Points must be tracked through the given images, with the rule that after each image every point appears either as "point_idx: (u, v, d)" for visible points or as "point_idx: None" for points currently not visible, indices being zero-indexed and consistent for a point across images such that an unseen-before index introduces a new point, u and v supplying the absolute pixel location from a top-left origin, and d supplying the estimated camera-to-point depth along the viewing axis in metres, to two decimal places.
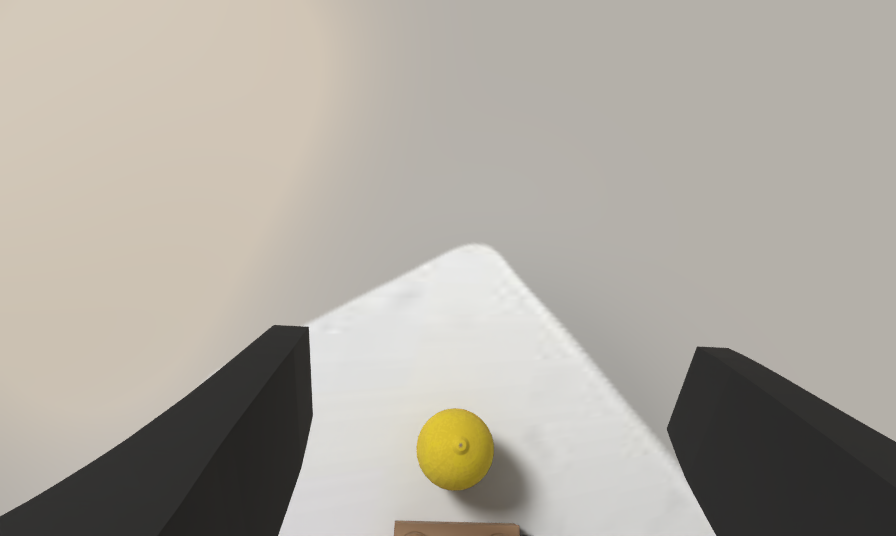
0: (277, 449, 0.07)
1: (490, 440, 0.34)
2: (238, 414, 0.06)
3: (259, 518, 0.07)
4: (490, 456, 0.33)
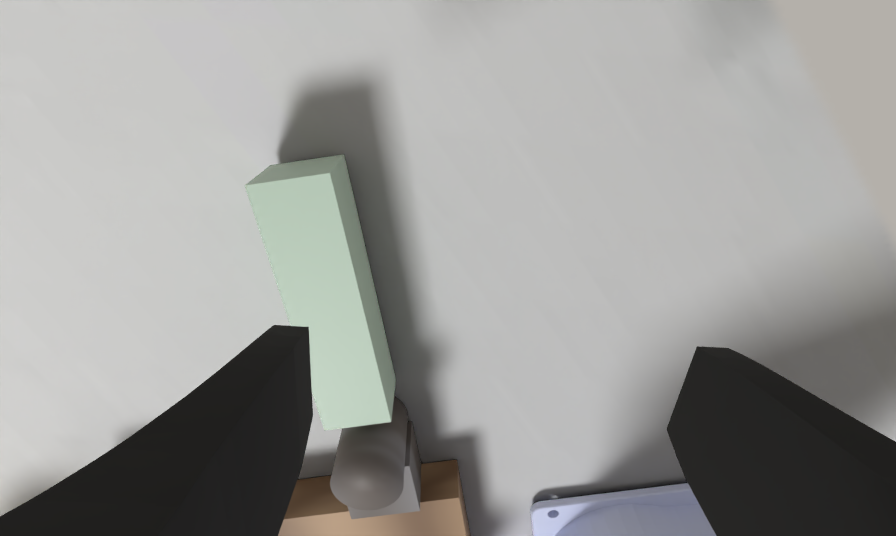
0: (277, 449, 0.07)
1: None
2: (238, 414, 0.06)
3: (259, 518, 0.07)
4: None
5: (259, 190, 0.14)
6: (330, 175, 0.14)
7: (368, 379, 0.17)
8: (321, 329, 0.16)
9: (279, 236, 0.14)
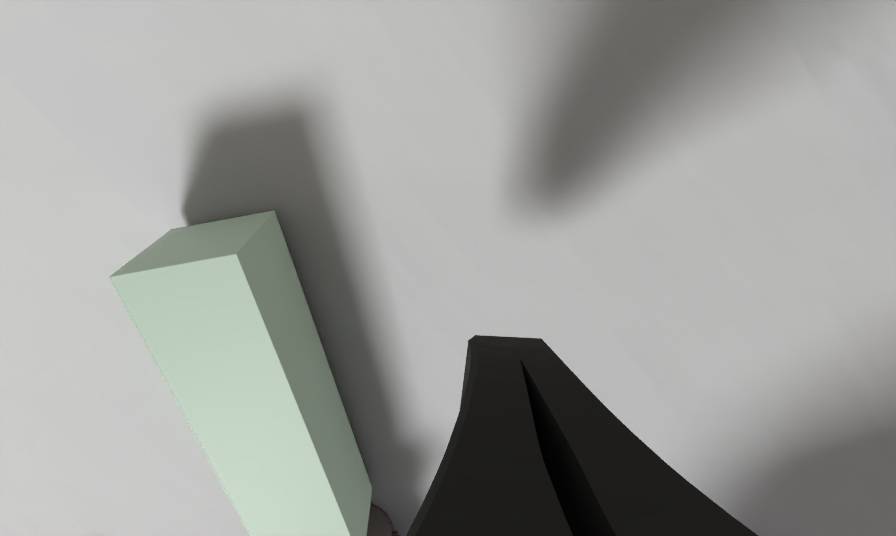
0: None
1: None
2: (528, 425, 0.06)
3: None
4: None
5: (132, 283, 0.09)
6: (237, 257, 0.09)
7: (325, 518, 0.12)
8: (252, 462, 0.11)
9: (173, 344, 0.10)
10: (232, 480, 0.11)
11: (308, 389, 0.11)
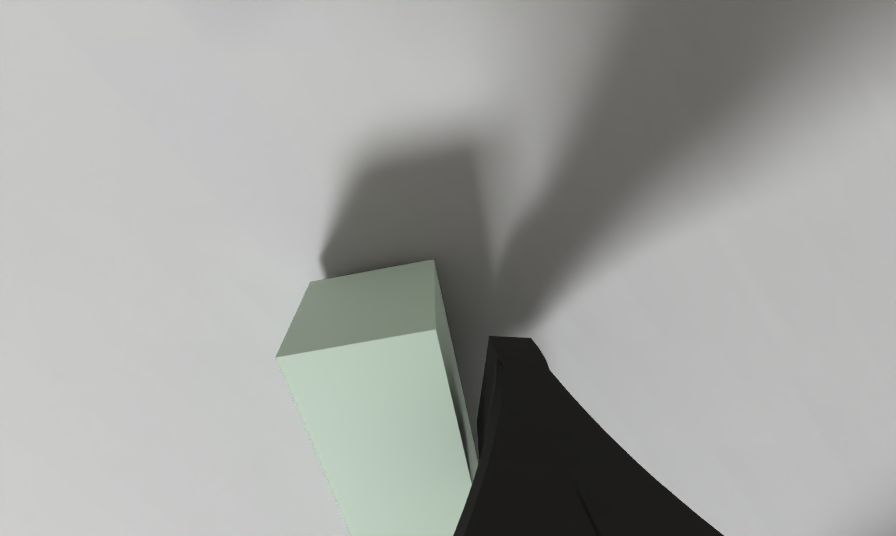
0: None
1: None
2: (561, 427, 0.06)
3: None
4: None
5: (303, 364, 0.07)
6: (436, 332, 0.07)
7: None
8: None
9: (339, 432, 0.08)
10: None
11: (472, 469, 0.09)
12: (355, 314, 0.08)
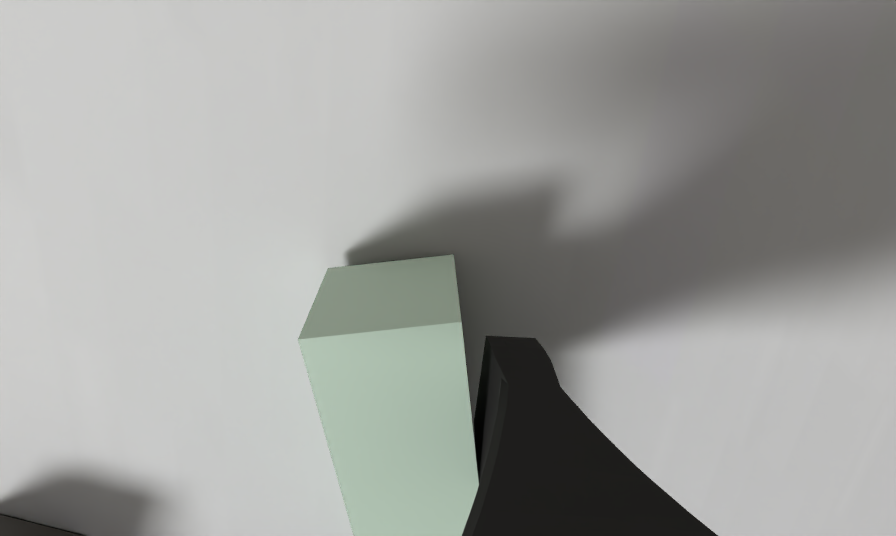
0: None
1: None
2: (567, 427, 0.06)
3: None
4: None
5: (325, 348, 0.07)
6: (461, 325, 0.07)
7: None
8: None
9: (353, 419, 0.08)
10: None
11: None
12: (377, 302, 0.08)
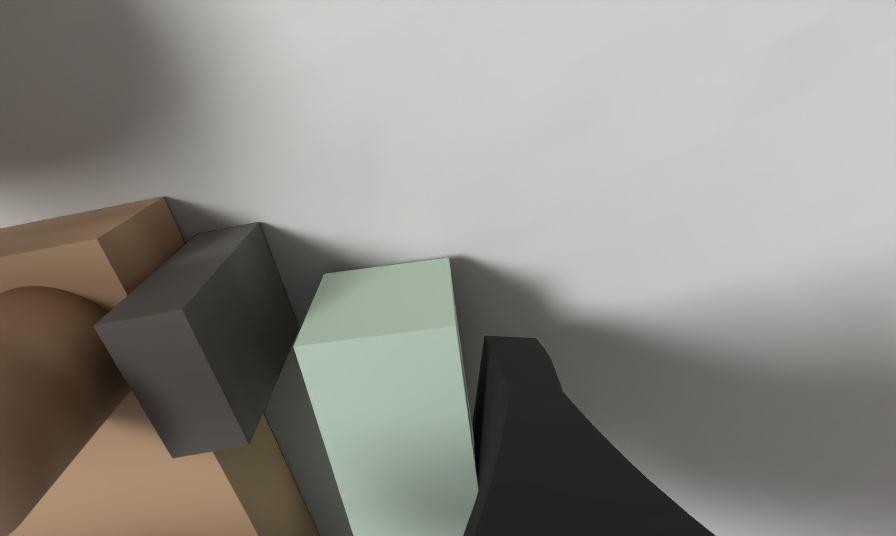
0: None
1: None
2: (568, 427, 0.06)
3: None
4: None
5: (320, 354, 0.07)
6: (455, 329, 0.07)
7: None
8: None
9: (351, 424, 0.08)
10: None
11: None
12: (372, 307, 0.08)
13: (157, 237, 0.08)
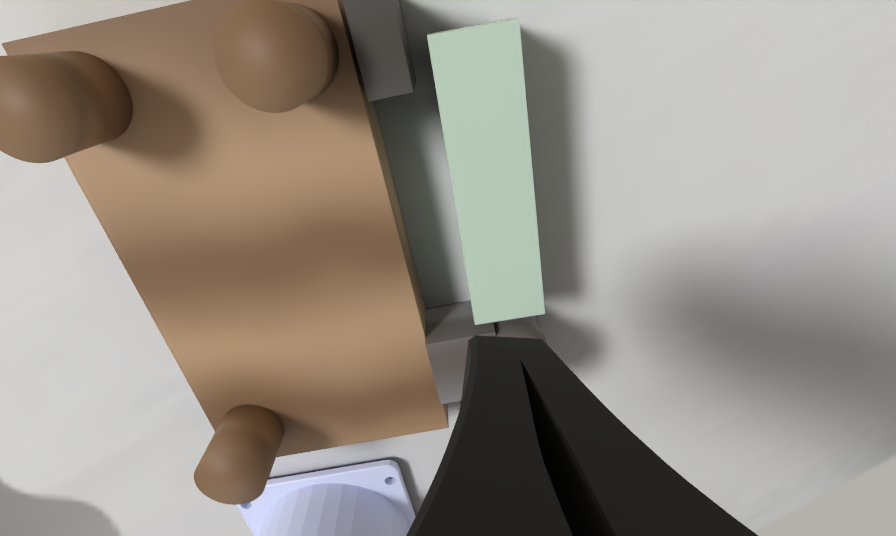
0: None
1: None
2: (527, 425, 0.06)
3: None
4: None
5: (441, 41, 0.13)
6: (519, 22, 0.13)
7: (527, 264, 0.16)
8: (486, 207, 0.15)
9: (456, 96, 0.13)
10: (468, 224, 0.15)
11: None
12: (466, 27, 0.13)
13: None
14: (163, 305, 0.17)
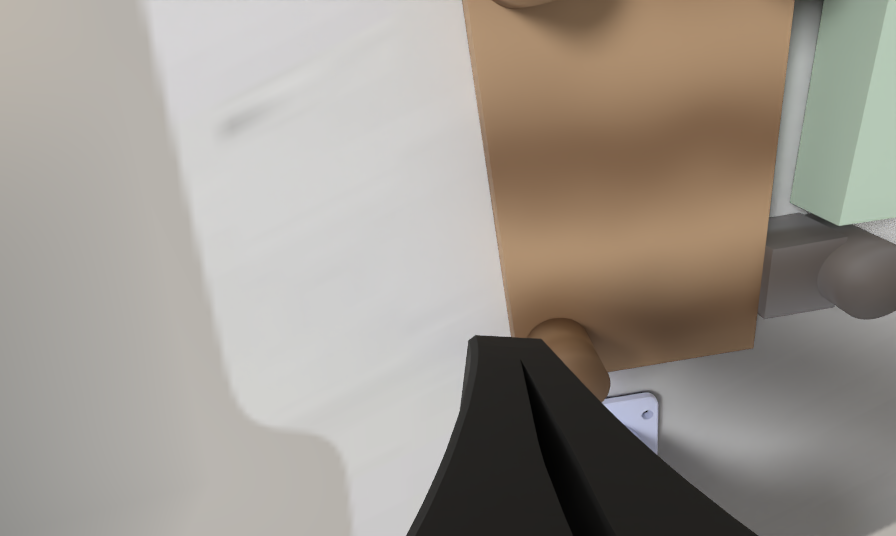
0: None
1: None
2: (528, 425, 0.06)
3: None
4: None
5: None
6: None
7: None
8: None
9: None
10: (874, 109, 0.14)
11: None
12: None
13: None
14: (513, 201, 0.16)
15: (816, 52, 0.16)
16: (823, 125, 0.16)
